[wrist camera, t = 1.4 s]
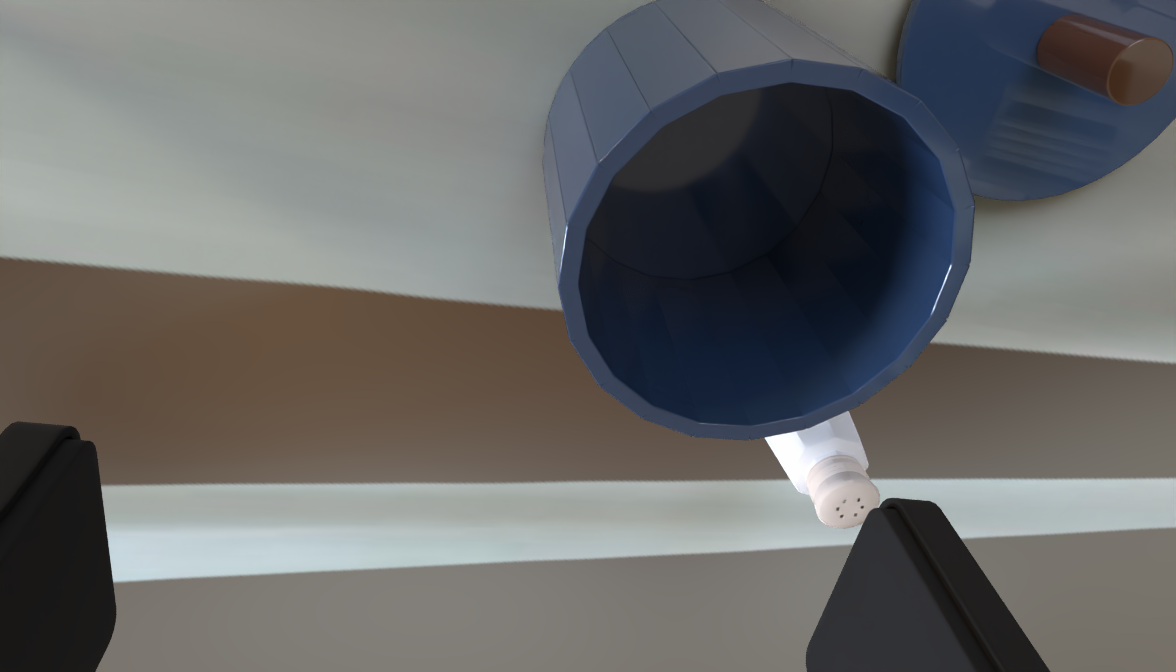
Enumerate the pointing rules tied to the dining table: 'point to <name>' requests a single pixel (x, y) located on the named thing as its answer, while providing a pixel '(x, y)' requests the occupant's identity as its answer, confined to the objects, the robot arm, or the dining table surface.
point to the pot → (747, 219)
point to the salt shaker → (829, 470)
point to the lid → (1042, 86)
